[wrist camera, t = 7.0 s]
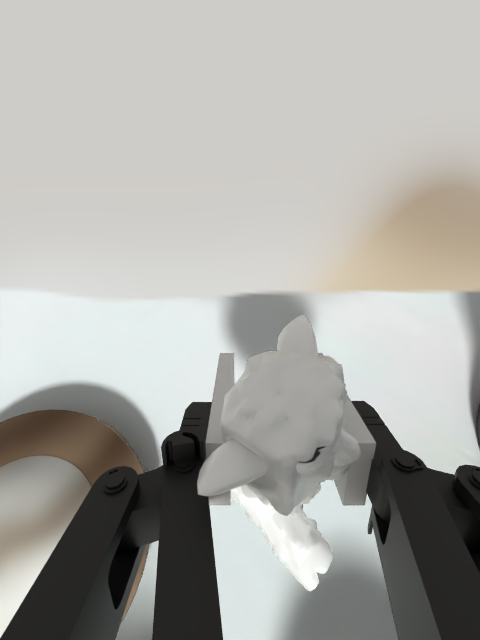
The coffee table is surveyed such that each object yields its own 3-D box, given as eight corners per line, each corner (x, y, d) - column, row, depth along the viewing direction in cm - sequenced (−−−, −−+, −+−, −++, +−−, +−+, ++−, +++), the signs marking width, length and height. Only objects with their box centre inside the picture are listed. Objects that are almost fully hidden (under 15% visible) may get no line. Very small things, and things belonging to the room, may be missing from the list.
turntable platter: (199, 505, 22) (197, 508, 21) (-10, 819, 16) (-34, 855, 14) (49, 371, 27) (39, 366, 25) (-163, 573, 20) (-193, 582, 19)
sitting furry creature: (315, 588, 14) (543, 962, 4) (168, 501, 16) (29, 586, 5) (363, 412, 18) (546, 343, 7) (241, 356, 20) (246, 232, 9)
